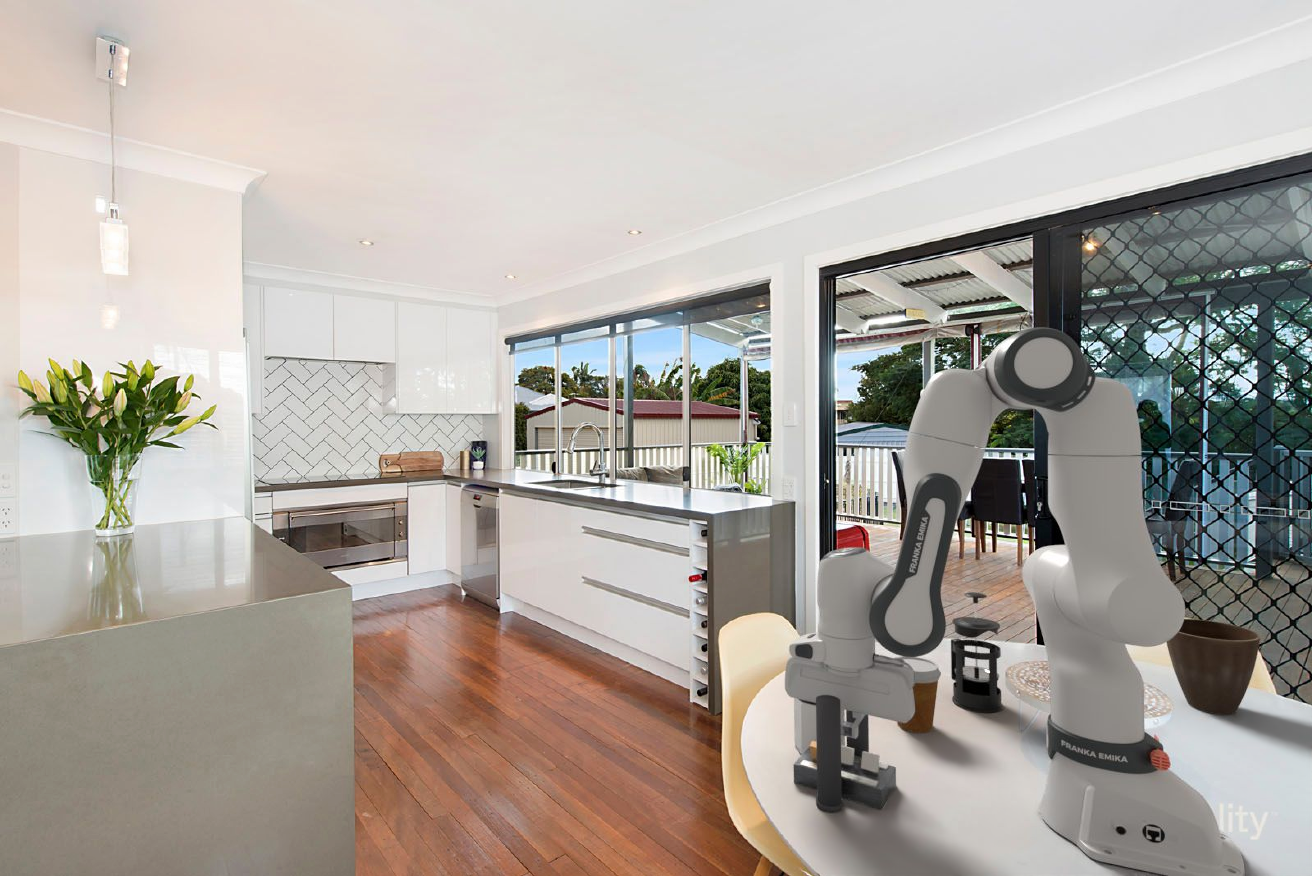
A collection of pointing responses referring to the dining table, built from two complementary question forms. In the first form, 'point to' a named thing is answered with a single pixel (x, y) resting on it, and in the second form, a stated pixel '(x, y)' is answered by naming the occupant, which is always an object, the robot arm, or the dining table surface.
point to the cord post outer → (828, 754)
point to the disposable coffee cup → (922, 694)
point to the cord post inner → (859, 735)
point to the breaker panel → (852, 780)
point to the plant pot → (1213, 663)
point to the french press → (975, 682)
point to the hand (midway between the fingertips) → (847, 735)
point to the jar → (806, 724)
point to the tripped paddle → (813, 749)
